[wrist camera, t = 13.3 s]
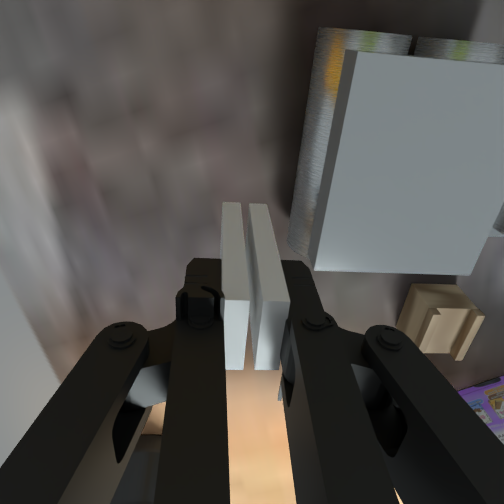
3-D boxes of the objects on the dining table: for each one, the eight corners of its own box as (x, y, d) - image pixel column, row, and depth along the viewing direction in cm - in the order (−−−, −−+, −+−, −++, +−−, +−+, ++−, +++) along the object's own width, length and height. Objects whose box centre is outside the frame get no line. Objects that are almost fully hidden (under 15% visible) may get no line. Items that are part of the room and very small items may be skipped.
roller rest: (394, 326, 43) (414, 360, 38) (410, 283, 40) (433, 314, 35) (438, 327, 43) (461, 360, 39) (457, 284, 40) (485, 316, 36)
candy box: (419, 428, 53) (489, 573, 39) (409, 405, 50) (482, 553, 36) (519, 396, 51) (631, 538, 37) (515, 370, 48) (636, 513, 34)
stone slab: (307, 253, 29) (313, 270, 27) (345, 48, 22) (357, 51, 20) (453, 258, 30) (469, 275, 28) (534, 66, 23) (564, 70, 21)
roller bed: (282, 226, 35) (292, 261, 30) (310, 26, 27) (330, 27, 22) (415, 232, 36) (447, 266, 31) (481, 43, 28) (538, 47, 23)
